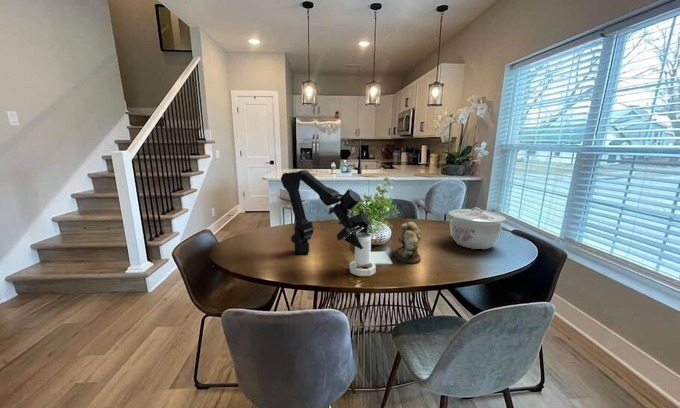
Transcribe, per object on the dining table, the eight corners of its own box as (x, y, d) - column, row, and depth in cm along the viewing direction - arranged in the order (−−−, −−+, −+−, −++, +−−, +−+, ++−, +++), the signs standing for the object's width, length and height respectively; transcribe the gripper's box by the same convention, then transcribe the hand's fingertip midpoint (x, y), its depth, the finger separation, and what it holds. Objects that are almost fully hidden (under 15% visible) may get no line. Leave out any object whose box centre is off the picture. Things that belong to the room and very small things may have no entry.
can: (365, 266, 115) (366, 238, 113) (351, 263, 119) (352, 235, 116) (372, 261, 121) (373, 234, 118) (359, 257, 124) (359, 231, 121)
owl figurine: (389, 250, 144) (391, 217, 141) (411, 250, 146) (414, 217, 142) (400, 264, 127) (402, 227, 123) (426, 264, 128) (429, 227, 125)
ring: (351, 276, 115) (351, 270, 114) (349, 265, 125) (349, 260, 125) (376, 275, 115) (377, 270, 115) (372, 265, 126) (372, 259, 125)
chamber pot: (501, 259, 134) (507, 216, 130) (440, 248, 148) (444, 209, 144) (502, 242, 158) (507, 205, 154) (450, 234, 171) (453, 200, 167)
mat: (360, 264, 126) (360, 263, 126) (357, 253, 140) (357, 251, 140) (392, 264, 127) (392, 263, 127) (385, 252, 141) (385, 251, 140)
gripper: (343, 208, 109) (367, 242, 105) (367, 201, 124) (389, 230, 120) (326, 224, 115) (348, 257, 111) (351, 216, 130) (372, 244, 126)
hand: (366, 246), depth 117 cm, fingers closed on can, 6 cm apart
